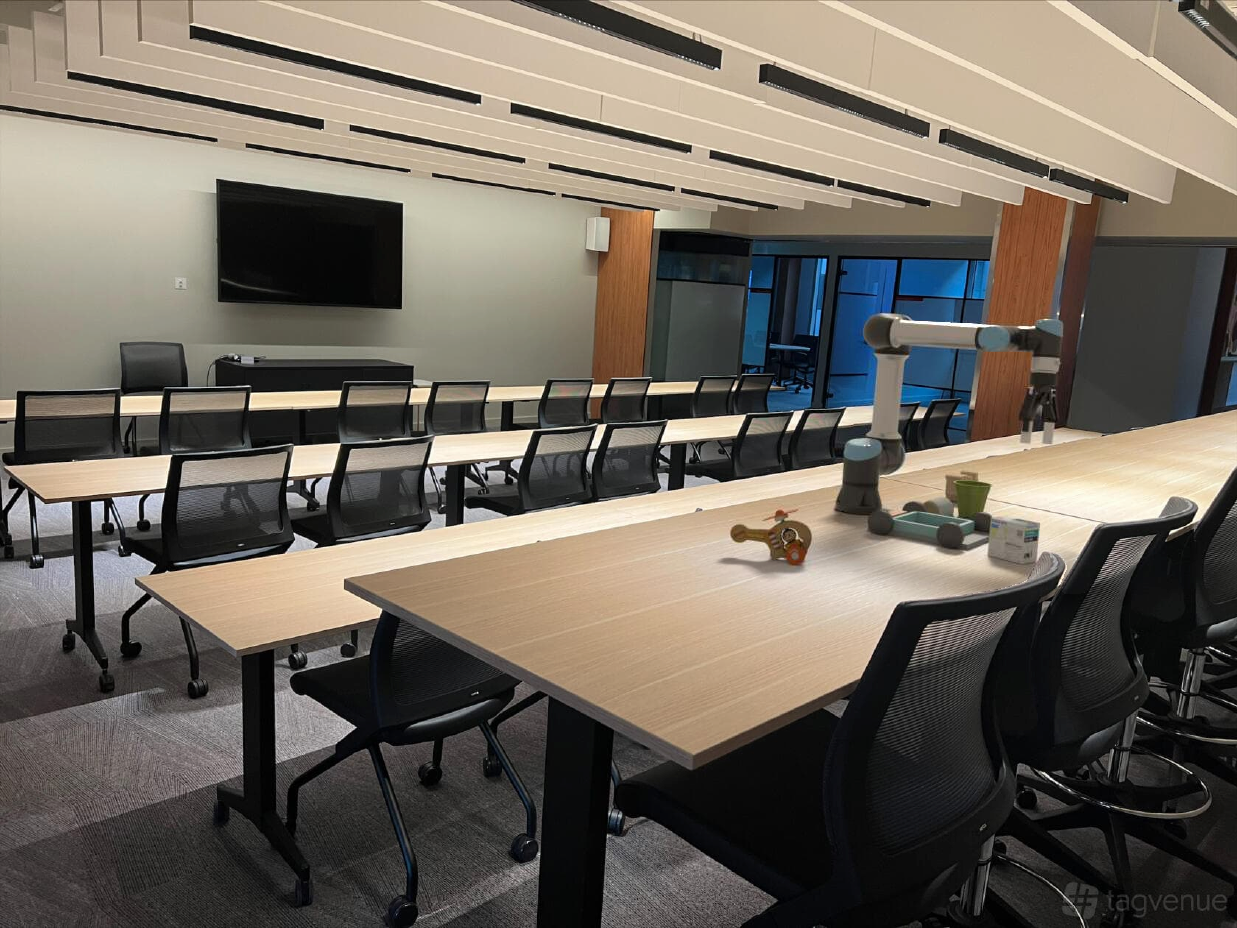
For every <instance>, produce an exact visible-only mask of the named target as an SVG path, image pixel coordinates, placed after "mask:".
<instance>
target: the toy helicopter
mask: <svg viewBox="0 0 1237 928" xmlns="http://www.w3.org/2000/svg"><path fill="white" fill-rule="evenodd" d="M796 512H799V509H798V508H797V509H792V510H791V509H790V510H788V511H784V510H783V509H778V510H776V511H775V513H774V515H773V516H768V517H766V518H763V520H762V522H765V521H768V520H771V519H774V521H775V523H776V524H775V525H773V526H772V527H771V528H768V529H767V528H749V527H748V526H747V525H746V524H743V523H738V524H735V525H733V526H732V527H731V529H730V538H731V539H732V541H733V542H735V543H740V544H742V543H744V542H746V541H753V542H758V543H764V544H766V545H767V547H768V549H769V557H770V558H771V560H773V559H776V560H778V559H781V558H782V559H785V560H787V562H788V563H789V564H791V565H794V566H797V565H800V564H802V563H804V561H805V559H806V556H807V554H808V550H809V549H810V546H811V544H812V540H813V537H812V536H813V535H812V534H813V533H812V531H811V529H810V527H809V526H808V525H807V524H805V523H804V522H802V521H799V520H794V519H789V520H785V519H787V518H789V514H792V513H796ZM777 522H778V523H777ZM797 536H798V537H797Z"/></svg>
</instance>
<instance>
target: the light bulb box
mask: <svg viewBox="0 0 1237 928" xmlns="http://www.w3.org/2000/svg"><path fill="white" fill-rule="evenodd" d="M1040 528H1041V523H1040V522H1038V521H1032V520H1027V519H1023V518H1018V517H1014V516H1013V517H1012V516H1009V515H1000V516H992V517H991V523H990V534H989V541H988V547H987V555H986V556H989V557H993V558H995V559H996V558H997V559H1001V560H1004V561H1009V562H1012V563H1015V564H1019V565H1024V564H1025V565H1027V564H1029V563H1036V562H1037V560H1038V549H1039V548H1038V547H1039V539H1040V538H1039V537H1040Z"/></svg>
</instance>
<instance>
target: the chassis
mask: <svg viewBox="0 0 1237 928" xmlns="http://www.w3.org/2000/svg"><path fill="white" fill-rule="evenodd" d="M868 515H869V516H868V517H867V532H872V533H873V534H875V535H879V536H880V535H888V536H895V537H899V538H903V539H910V540H912V541H913V540H915V541H919V542H925V543H929V544H934V545H939V546H942V547H943V548H945V549H954V548H956V549H961V550H966V551H968V550H971V549H973V548H976V547H978V546H980V545H983V544H986V543H989V534H990V523H991V517H993V516H992V514H990V513H988V512H985V511H983V512H979V513H976V514H974V515H972V516H971V517H970V518H969V519H965V518H961V517H960V518H959V517H956V518H954V517H948V516H943V515H937V514H931V513H927V510H926V507H925V506H924V504H923V502H921V501H918V500H911V501H908V502H906V503H905V504H904V505H903V506H902V509H901V510H900V509H894V510H889V511H888V510H885V509H882V510H878V511H875V512H873V513H871V514H868Z"/></svg>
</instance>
